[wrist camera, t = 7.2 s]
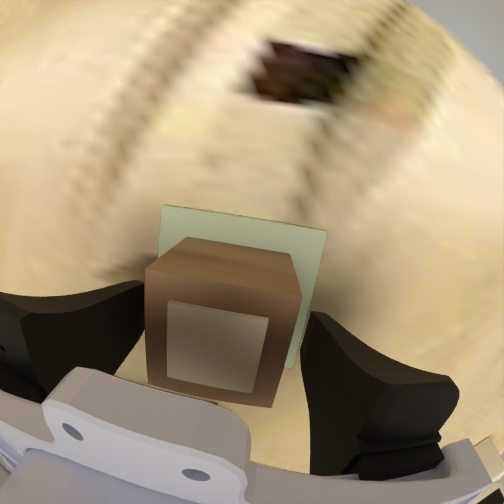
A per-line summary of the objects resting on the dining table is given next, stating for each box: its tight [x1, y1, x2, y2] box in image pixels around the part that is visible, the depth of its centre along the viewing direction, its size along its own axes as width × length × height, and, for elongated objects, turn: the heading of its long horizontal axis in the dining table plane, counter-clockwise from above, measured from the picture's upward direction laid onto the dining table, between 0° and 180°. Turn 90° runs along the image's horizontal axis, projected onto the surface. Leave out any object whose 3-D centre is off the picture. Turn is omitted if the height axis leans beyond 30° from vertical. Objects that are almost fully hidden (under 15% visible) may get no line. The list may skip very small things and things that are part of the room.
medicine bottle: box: [469, 437, 504, 504], centre depth 14 cm, size 7×7×12 cm
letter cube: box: [145, 237, 303, 408], centre depth 11 cm, size 5×5×5 cm
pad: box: [158, 205, 327, 368], centre depth 14 cm, size 8×8×1 cm
